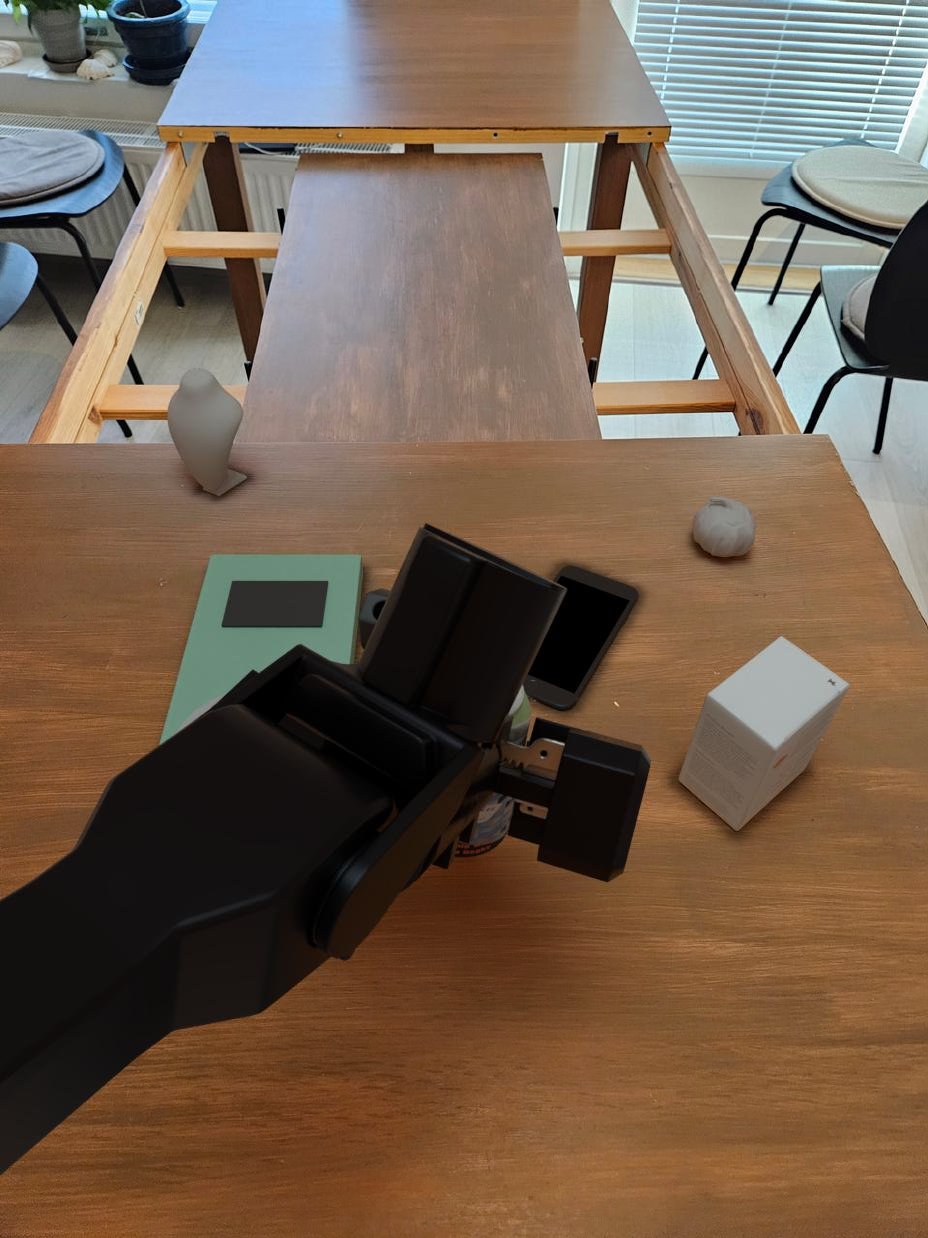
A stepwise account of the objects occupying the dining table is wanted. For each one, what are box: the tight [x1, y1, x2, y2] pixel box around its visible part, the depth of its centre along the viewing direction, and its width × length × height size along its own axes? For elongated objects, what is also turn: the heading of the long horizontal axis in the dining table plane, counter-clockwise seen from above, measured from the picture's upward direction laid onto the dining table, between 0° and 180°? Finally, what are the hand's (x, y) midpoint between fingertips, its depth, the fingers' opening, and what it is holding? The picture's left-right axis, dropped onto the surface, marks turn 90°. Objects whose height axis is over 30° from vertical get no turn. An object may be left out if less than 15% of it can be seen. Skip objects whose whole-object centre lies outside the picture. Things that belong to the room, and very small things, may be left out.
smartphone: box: [523, 564, 640, 712], centre depth 74 cm, size 7×15×1 cm, turn 151°
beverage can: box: [454, 685, 532, 859], centre depth 50 cm, size 6×7×12 cm
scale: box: [158, 553, 364, 746], centre depth 69 cm, size 26×13×3 cm, turn 0°
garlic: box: [691, 495, 757, 558], centre depth 79 cm, size 6×5×5 cm
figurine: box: [166, 367, 248, 497], centre depth 82 cm, size 8×5×12 cm
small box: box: [678, 635, 851, 832], centre depth 61 cm, size 8×6×10 cm
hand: (479, 736), depth 51 cm, fingers closed on beverage can, 6 cm apart
